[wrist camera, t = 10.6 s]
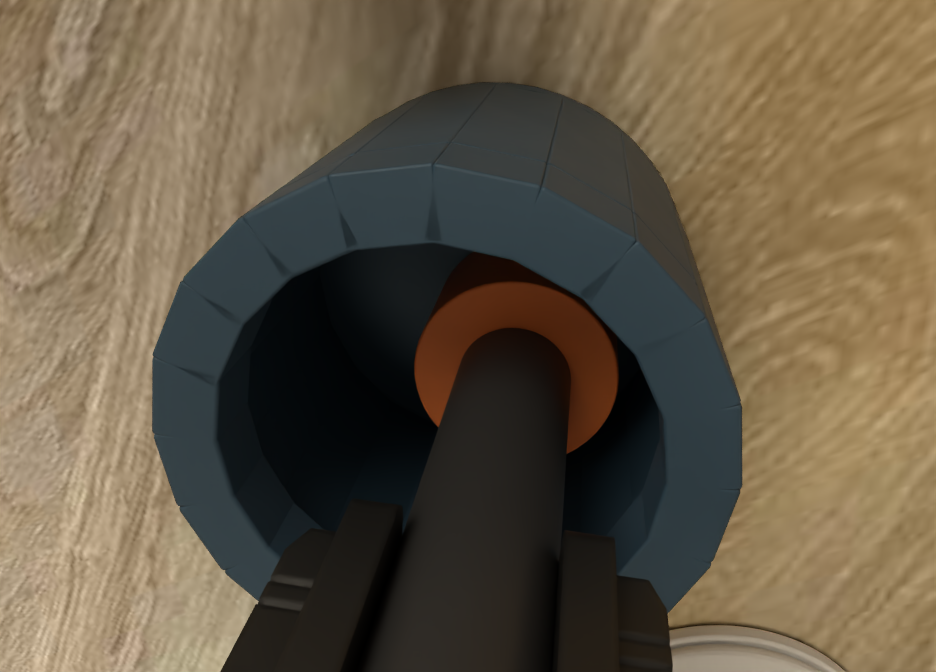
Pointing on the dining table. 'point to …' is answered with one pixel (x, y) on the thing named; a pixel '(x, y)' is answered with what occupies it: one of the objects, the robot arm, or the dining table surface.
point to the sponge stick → (493, 472)
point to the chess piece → (742, 651)
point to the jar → (405, 315)
